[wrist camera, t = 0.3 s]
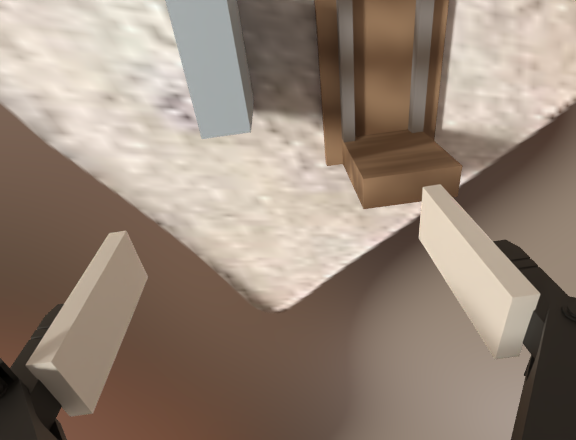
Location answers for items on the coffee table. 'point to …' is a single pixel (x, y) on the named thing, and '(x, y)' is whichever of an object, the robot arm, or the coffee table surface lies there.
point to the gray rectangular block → (214, 64)
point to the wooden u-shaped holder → (384, 96)
